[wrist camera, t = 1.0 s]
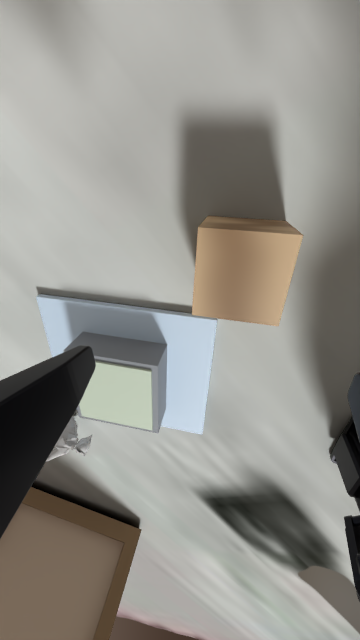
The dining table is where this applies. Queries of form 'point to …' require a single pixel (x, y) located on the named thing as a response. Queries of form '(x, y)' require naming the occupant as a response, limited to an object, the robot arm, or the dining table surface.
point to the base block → (125, 381)
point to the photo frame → (62, 570)
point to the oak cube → (244, 268)
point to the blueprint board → (147, 325)
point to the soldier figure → (70, 441)
